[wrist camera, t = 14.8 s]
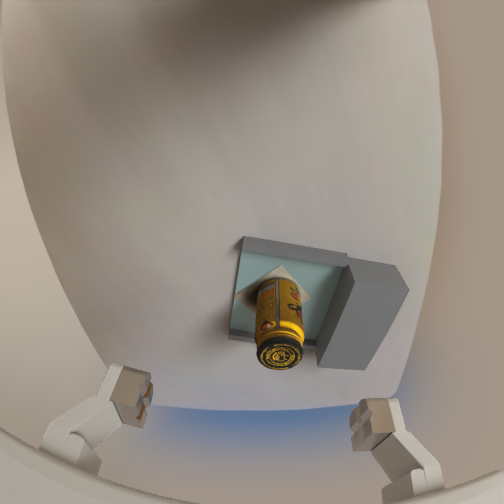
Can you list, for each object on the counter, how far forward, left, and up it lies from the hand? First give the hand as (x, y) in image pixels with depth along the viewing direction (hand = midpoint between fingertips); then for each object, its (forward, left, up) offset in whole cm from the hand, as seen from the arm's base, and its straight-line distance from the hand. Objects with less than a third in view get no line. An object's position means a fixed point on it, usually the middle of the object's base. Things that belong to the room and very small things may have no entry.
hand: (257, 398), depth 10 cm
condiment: (+17, +4, -29) cm, 33 cm away
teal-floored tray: (+17, +9, -29) cm, 35 cm away
